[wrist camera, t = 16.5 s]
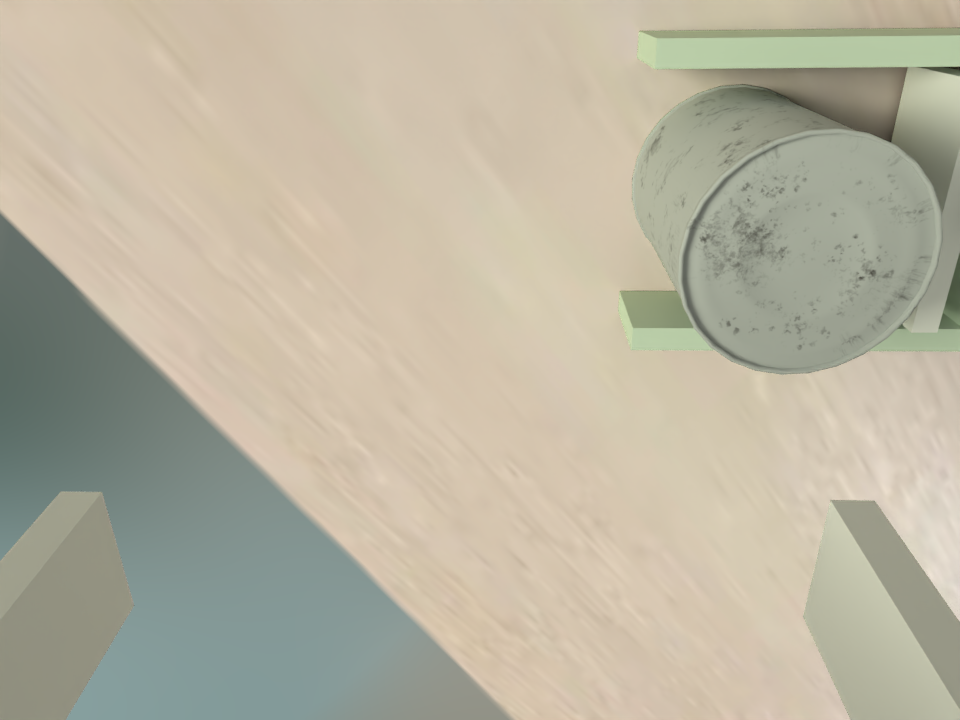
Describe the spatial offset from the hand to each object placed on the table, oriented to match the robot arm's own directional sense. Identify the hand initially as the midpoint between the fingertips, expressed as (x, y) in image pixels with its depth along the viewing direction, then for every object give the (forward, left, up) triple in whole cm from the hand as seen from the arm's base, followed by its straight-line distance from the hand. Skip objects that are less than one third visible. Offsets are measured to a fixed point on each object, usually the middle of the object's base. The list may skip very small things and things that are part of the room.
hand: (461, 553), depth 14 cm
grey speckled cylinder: (+12, 0, -29) cm, 31 cm away
